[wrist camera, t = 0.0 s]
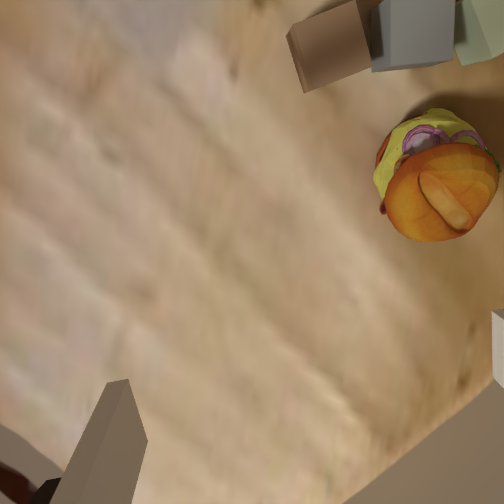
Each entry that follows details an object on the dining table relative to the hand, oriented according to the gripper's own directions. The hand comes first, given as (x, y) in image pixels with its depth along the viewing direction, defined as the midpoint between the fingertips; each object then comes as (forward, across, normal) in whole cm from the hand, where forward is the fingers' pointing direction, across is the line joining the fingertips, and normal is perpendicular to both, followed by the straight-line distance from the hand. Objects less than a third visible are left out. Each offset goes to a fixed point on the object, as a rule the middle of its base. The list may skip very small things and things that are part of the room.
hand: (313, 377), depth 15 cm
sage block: (+28, +22, +13) cm, 38 cm away
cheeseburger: (+28, +16, +1) cm, 32 cm away
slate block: (+28, +15, +13) cm, 34 cm away
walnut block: (+28, +8, +13) cm, 32 cm away
